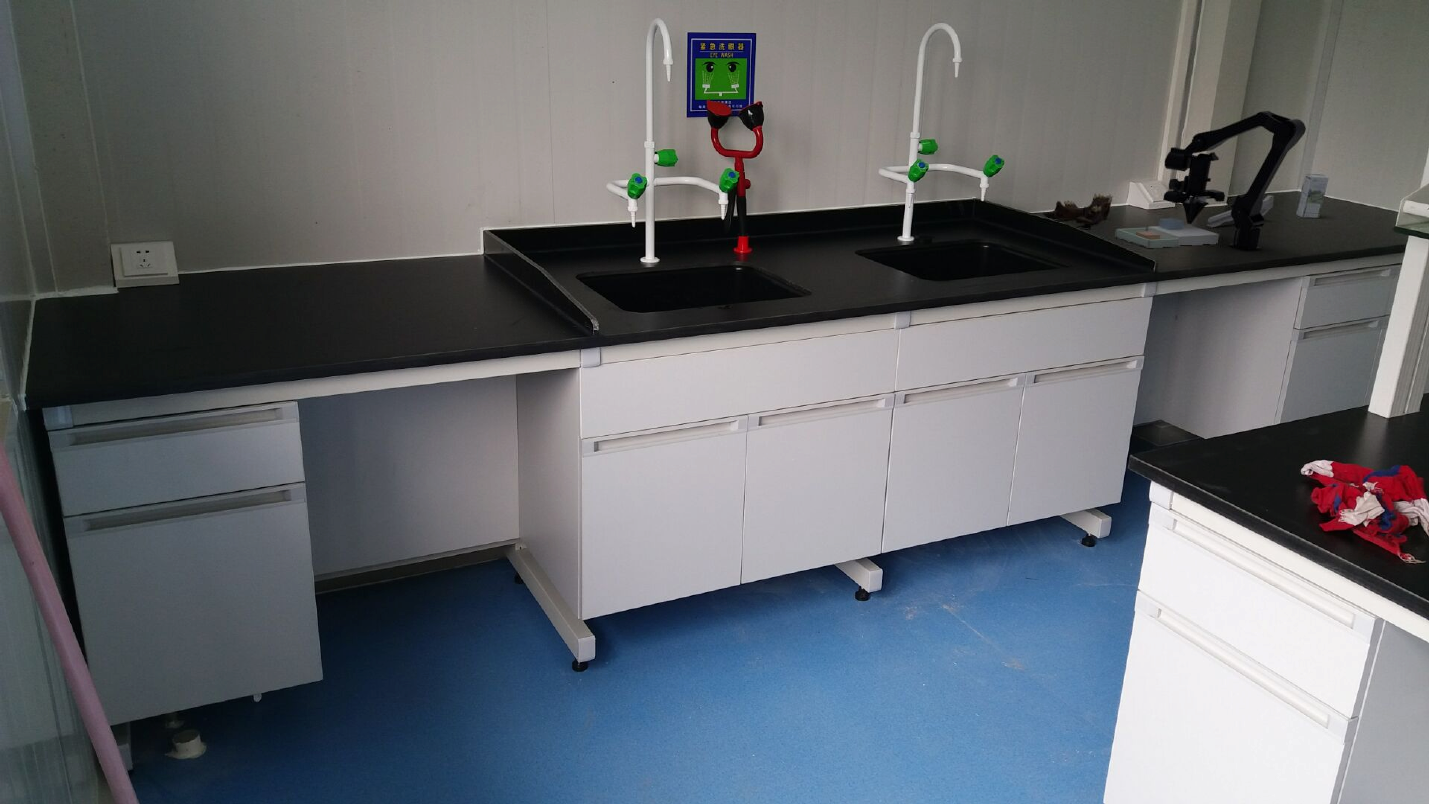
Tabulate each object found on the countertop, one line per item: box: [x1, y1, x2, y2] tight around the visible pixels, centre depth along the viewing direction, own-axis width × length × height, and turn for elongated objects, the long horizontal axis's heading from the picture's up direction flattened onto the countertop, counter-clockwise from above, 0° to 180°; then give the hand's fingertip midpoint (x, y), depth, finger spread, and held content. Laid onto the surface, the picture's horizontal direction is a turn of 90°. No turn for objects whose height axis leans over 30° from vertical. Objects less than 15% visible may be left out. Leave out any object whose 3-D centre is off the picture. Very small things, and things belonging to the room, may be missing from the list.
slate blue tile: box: [1158, 217, 1185, 230], centre depth 339 cm, size 5×5×2 cm
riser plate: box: [1147, 224, 1220, 247], centre depth 337 cm, size 14×15×3 cm
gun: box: [1206, 194, 1275, 229], centre depth 361 cm, size 2×30×8 cm, turn 118°
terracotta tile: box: [1136, 230, 1160, 240], centre depth 331 cm, size 5×5×2 cm
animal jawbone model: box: [1042, 192, 1113, 229], centre depth 357 cm, size 17×25×10 cm
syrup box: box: [1295, 173, 1330, 219], centre depth 374 cm, size 6×6×14 cm
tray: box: [1114, 227, 1179, 249], centre depth 333 cm, size 16×11×2 cm
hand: (1189, 223), depth 341 cm, fingers closed
